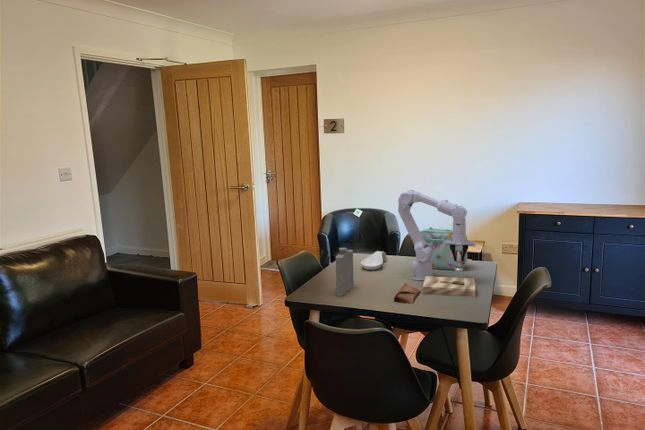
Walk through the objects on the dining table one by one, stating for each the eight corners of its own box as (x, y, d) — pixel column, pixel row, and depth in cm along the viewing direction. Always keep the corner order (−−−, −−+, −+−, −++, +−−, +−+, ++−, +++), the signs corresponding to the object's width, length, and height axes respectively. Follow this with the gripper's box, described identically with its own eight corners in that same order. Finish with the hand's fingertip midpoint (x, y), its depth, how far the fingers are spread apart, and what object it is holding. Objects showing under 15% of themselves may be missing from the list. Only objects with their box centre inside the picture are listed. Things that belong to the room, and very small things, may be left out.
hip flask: (342, 296, 200) (341, 252, 197) (333, 295, 202) (332, 251, 199) (354, 286, 214) (353, 244, 211) (346, 285, 216) (345, 244, 213)
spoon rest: (378, 273, 235) (377, 259, 234) (357, 270, 241) (357, 257, 240) (393, 262, 256) (393, 249, 255) (373, 260, 262) (373, 248, 260)
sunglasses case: (414, 304, 188) (405, 290, 188) (399, 311, 191) (391, 297, 191) (422, 291, 204) (414, 278, 205) (408, 297, 207) (401, 284, 207)
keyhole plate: (422, 293, 201) (422, 286, 200) (425, 282, 216) (425, 275, 215) (475, 296, 194) (475, 289, 194) (474, 285, 210) (474, 278, 209)
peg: (454, 271, 213) (454, 252, 212) (454, 268, 217) (454, 250, 216) (463, 271, 212) (463, 252, 211) (463, 269, 216) (463, 250, 214)
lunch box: (413, 268, 242) (413, 228, 238) (417, 263, 251) (417, 225, 248) (465, 272, 231) (466, 230, 228) (467, 266, 241) (468, 227, 237)
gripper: (442, 233, 210) (442, 262, 212) (475, 234, 206) (475, 263, 208) (443, 230, 217) (443, 258, 219) (475, 231, 212) (474, 259, 215)
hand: (458, 260), depth 214 cm, fingers closed on peg, 3 cm apart
